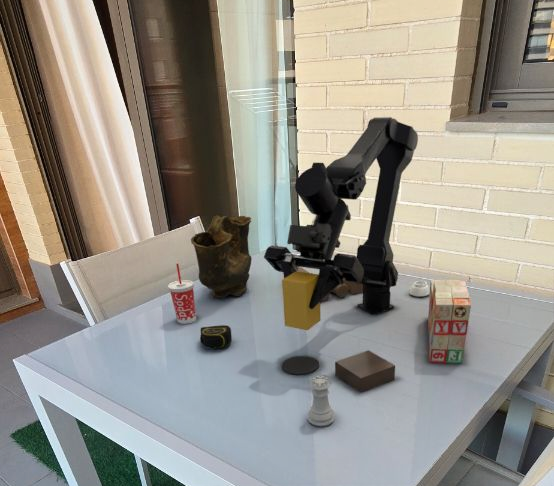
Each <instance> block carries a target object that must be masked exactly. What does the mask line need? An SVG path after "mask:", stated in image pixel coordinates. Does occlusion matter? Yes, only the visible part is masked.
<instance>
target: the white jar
mask: <svg viewBox="0 0 554 486" xmlns="http://www.w3.org/2000/svg"><path fill="white" fill-rule="evenodd" d="M409 294H410V295H411V296H413V297H417V298H420V297H421V298H422V297H426V296H430V286H429V285H428V282H427V281H425V280H416V281H414V282H413V285H411V287H410V289H409Z"/></svg>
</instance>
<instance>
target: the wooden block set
mask: <svg viewBox="0 0 554 486" xmlns="http://www.w3.org/2000/svg"><path fill="white" fill-rule="evenodd" d="M298 272H305V273H310V271H308V270H306V269H304V267H299V269H298ZM311 273H312V274H314V273H313V272H311ZM317 274H319V272H318V273H317ZM343 281H344V284H343V285H338V286H337V287H336V288H335V289H333V290H332V291H331V292H332V293H333V294H335V295H337V296H338V297H341V298H342V297H345V296H347V295H348V293H350V294H351V295H356V294H360V293H363V284H357V283H353V282H347V281H346V280H345V278H343ZM329 298H330V293H329V294H327V295H326V296H325V297H324V298H323V299H322V300H321V301H320V302H323V301H327V300H329Z"/></svg>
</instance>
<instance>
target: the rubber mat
mask: <svg viewBox="0 0 554 486" xmlns="http://www.w3.org/2000/svg"><path fill="white" fill-rule="evenodd" d="M319 367H320V361H319V360H318V359H316V358H314V357H311V356H307V355H297V356H291V357H289V358H287V359H285V360H284V361H283V362H282V363H281V370H282V371H283V372H284V373H286V374H289V375H291V376H292V375H293V376H306V375H309V374H313V373H314V372H316V371H317V370H318V369H319Z"/></svg>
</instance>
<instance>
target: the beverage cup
mask: <svg viewBox="0 0 554 486" xmlns="http://www.w3.org/2000/svg"><path fill="white" fill-rule="evenodd" d="M175 266H176V271H177V275H178V276H177V277H178V280H175V281H173V282H170V283H169V284H168V285H167V288H168V291H169V293H170V296H171V300H172V305H173V308H174V313H175V316H176V320H177V323H179V324H182V325H186V324H187V325H188V324H191V323H194V322H196V321H197V312H196V302H195V293H194V292H195V291H194V288H195V284H194V281H192V280H189V279H188V280H187V279H182V278H181V277H182V276H181V271H180V266H179V263H178V262H176V263H175Z"/></svg>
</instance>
